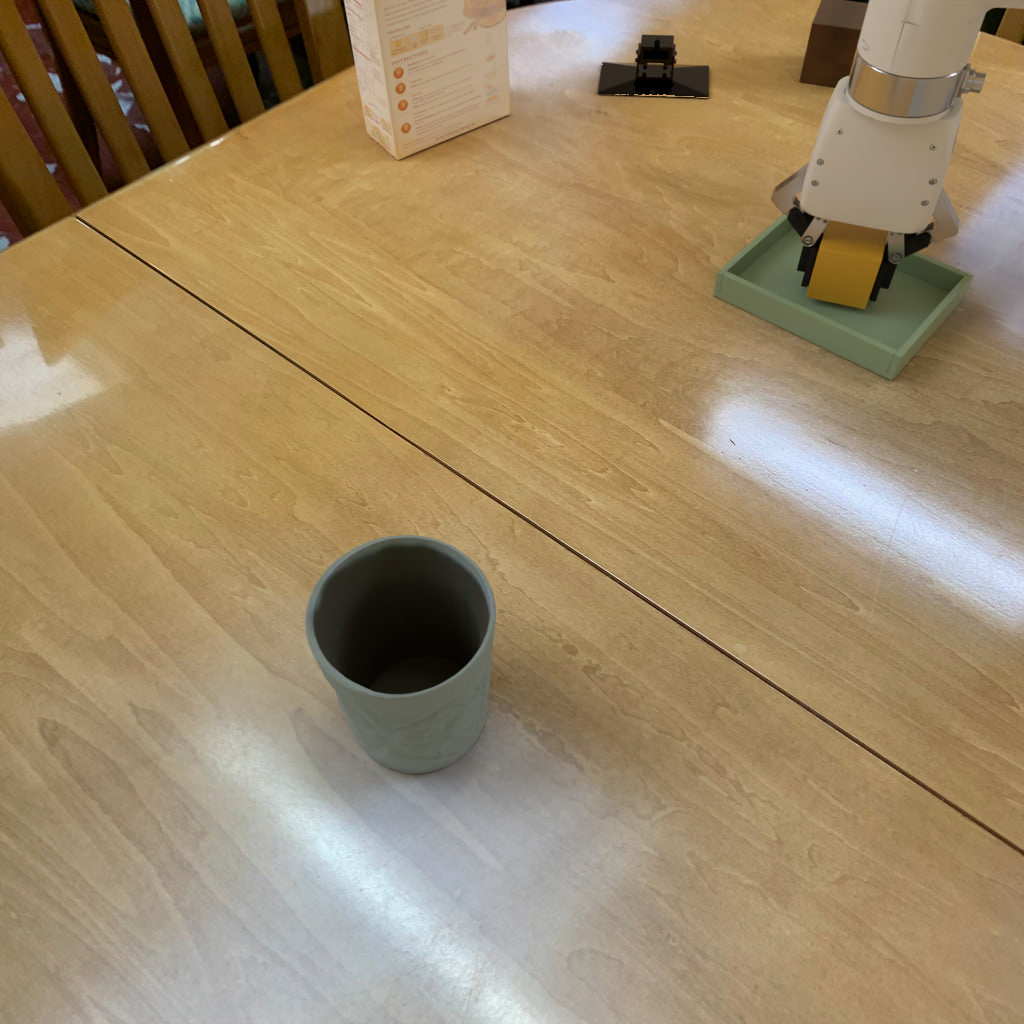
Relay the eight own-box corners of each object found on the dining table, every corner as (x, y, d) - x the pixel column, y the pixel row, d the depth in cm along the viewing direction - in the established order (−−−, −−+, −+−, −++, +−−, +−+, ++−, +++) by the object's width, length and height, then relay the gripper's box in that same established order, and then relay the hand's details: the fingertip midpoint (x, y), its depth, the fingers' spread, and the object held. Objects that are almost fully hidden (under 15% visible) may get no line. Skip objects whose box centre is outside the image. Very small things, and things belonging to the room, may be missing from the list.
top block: (873, 274, 81) (889, 225, 77) (865, 309, 78) (881, 260, 75) (815, 263, 83) (829, 214, 79) (805, 297, 80) (819, 248, 76)
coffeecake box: (477, 90, 106) (464, -104, 91) (513, 115, 102) (506, -83, 87) (363, 134, 101) (330, -64, 85) (397, 162, 97) (368, -39, 82)
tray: (963, 299, 81) (974, 275, 79) (891, 381, 75) (901, 357, 73) (790, 226, 88) (796, 202, 86) (712, 295, 82) (717, 271, 80)
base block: (866, 63, 107) (882, 4, 102) (857, 91, 103) (874, 31, 98) (809, 55, 108) (822, -3, 103) (799, 82, 105) (811, 23, 100)
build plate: (597, 96, 104) (598, 54, 101) (602, 64, 109) (603, 23, 105) (708, 99, 103) (714, 57, 99) (708, 66, 107) (714, 25, 104)
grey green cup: (347, 646, 61) (310, 539, 52) (499, 634, 62) (490, 526, 52) (340, 795, 55) (297, 704, 46) (509, 781, 55) (501, 688, 46)
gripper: (1033, 72, 66) (946, 279, 80) (794, 38, 70) (752, 240, 85) (1028, 125, 62) (938, 333, 76) (774, 85, 66) (733, 290, 80)
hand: (840, 282), depth 80 cm, fingers closed on top block, 5 cm apart
